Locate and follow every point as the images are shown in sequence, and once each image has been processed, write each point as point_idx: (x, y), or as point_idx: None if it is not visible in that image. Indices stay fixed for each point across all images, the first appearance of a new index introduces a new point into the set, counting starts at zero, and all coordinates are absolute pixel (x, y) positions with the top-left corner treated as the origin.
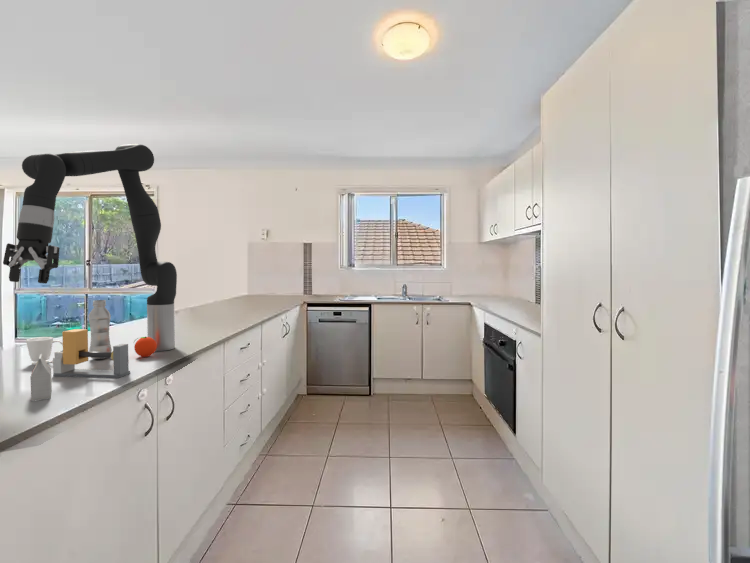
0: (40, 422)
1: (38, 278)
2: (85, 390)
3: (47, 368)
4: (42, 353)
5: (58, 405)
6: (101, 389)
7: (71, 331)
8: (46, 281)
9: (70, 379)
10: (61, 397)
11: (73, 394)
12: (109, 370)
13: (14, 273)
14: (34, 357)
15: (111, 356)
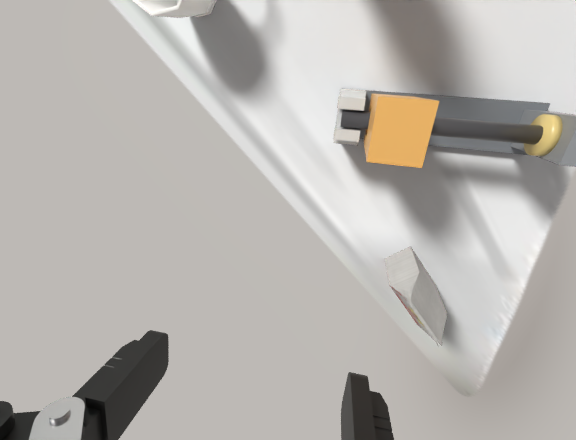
0: (484, 373)
1: (343, 436)
2: (480, 245)
3: (436, 308)
4: (203, 2)
5: (471, 317)
6: (515, 241)
7: (399, 156)
8: (367, 387)
9: (398, 165)
10: (453, 281)
11: (467, 267)
12: (479, 103)
13: (135, 401)
14: (191, 15)
15: (530, 154)
